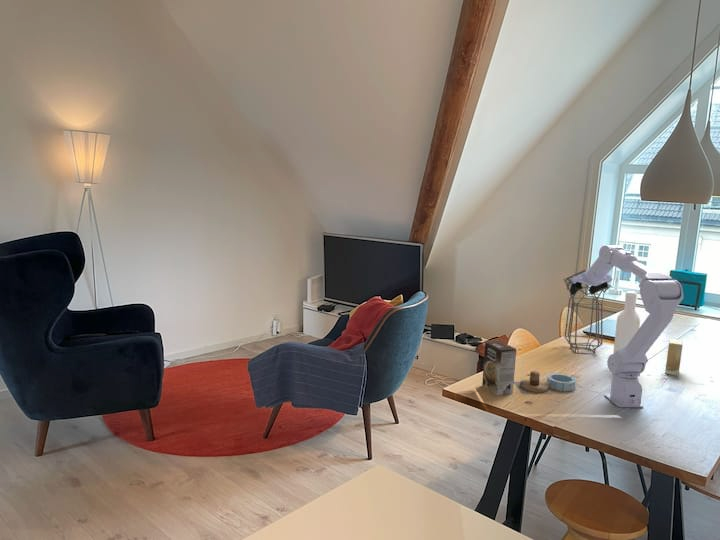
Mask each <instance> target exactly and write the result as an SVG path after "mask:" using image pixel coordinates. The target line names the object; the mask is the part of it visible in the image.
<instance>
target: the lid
mask: <svg viewBox="0 0 720 540" xmlns="http://www.w3.org/2000/svg"><path fill="white" fill-rule="evenodd" d="M540 375H541V373H540V372H539V371H534V370H533V371H530V374H529V379H528V378H527V379H523V380H520V381H519V382H520V387H521V388H522V389H524V390H526V391H529V392H534V393H543V392H547V391H548V389H549V386H548V385H547V382H544V381H542V380H540Z"/></svg>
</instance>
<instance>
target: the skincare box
mask: <svg viewBox="0 0 720 540" xmlns="http://www.w3.org/2000/svg"><path fill="white" fill-rule="evenodd" d="M683 343H684V342H683V340H681V339H675V338H674V339H673V338H669V339H668V345H667V346H668V347H667V356H666V363H665V369H664V370H665V375H671V376H677V377H678V376H679V375H680V368H681V360H682V354H683V353H682V352H683V351H682V350H683Z"/></svg>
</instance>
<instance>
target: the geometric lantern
mask: <svg viewBox="0 0 720 540" xmlns="http://www.w3.org/2000/svg"><path fill="white" fill-rule="evenodd" d="M585 272H586V269H583V270H581V271H578V272H576V273H574V274H572V275H570V276H568V277H566V278H564V279H563V281H564V284H565V285H566V290H568V291H569V294H570V295H569V296H570V297H568V307H567V313H566V314H567V315H566V322H565V330H564V335H563V336H564V338H565V340H566V342H567V343H568V345H569V348H570V350H572V351H573V353H575V354H578V355H579V354H583V355H584V354H585V355H596V351H597V349H598V348H599V347H601V346H602V345H603V310H604V309H603V308H604V307H603V304H604V297H605V293H606V292H607V290H608V289H610V288H611V287H612V285H611V284H610V283H608V282H607V284H608V287H607V288H604V289H601V290H599V291H597V292H595V293H594V294H591V293H590V291H589V288H590V287H591V285H588V284H584V285H582V287H583V289H584V290H585V291H583V289H580V290H579V291H580V292H582V294H584V295H583V297H576V294H574V295H572V294H571V292H570V289H571V286H572V280H571V279H572V276H573V275H580V274H582V273H585ZM587 291H588V293H587ZM602 292H603V293H602ZM597 293H599V294H597ZM596 294H597V295H598V296H596ZM601 294H603V295H602V301H600V300H599V298H600V296H601ZM589 295H591V297H586V296H589ZM575 299H580V300H579V301H578V302H576V301H575ZM585 299H586V300H587V299H588V300H590V299H591V300H592V303H585V305H587V306H589V305H591V315H590V327H589V335H577V334H578V332H577V331H578V311H579V310H578V309H579V305H584V303H582V302H581V301H582V300H585ZM580 302H581V303H580ZM594 302H595V303H594ZM594 306H595V336H592V327H593V318H594V317H593V316H594ZM570 307H571V308H570ZM575 307H576V309H575ZM574 313H575V325H574V326H575V327H574V328H575V329H574V331H575V332H574V333H575V334H574V335H572V330H573V322H574ZM569 315H570V317H569ZM568 322H569V323H568ZM571 338H574V342H572V339H571ZM577 338H588V339H587V341H586V342H577ZM591 338H593V340H592V341H590V340H591ZM595 340H597V344H592V343H594V341H595ZM591 347H592V348H591ZM582 349H583V350H585V351H586V350H587V351H591V353H589V352H579V350H582Z"/></svg>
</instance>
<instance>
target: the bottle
mask: <svg viewBox="0 0 720 540" xmlns="http://www.w3.org/2000/svg"><path fill="white" fill-rule="evenodd" d="M637 298H638V294H637V292H635V291H629V290H628V291H626V292H625V300H624V308H623V310H622V311H620V312H618V313H619V314H618V316H617V318H616V325H615V335H614V345H613V353H612V354H614V353H615V352H616V351H617V350H619V349H621V348H624V347H626V346H627V345H628V343H629V342H630V340H631V339H632V338H633V336H634V335H635V333H636V332H637V331H638V329H639V328H640V327H641V317H640V315H639V313H637V311H636V307H637V306H636V304H637Z"/></svg>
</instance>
